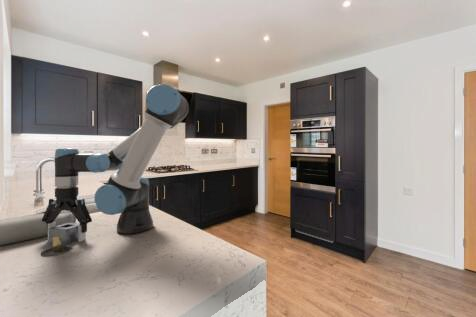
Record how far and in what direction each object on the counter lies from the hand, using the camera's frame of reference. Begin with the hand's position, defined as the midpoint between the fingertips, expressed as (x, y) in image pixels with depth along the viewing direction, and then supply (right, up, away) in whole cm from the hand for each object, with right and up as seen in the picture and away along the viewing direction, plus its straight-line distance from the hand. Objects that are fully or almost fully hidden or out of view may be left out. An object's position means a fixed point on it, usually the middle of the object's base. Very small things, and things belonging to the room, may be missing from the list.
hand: (66, 239), depth 89 cm
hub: (+4, -1, -10) cm, 10 cm away
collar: (0, 0, 0) cm, 1 cm away
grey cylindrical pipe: (-26, +4, -6) cm, 27 cm away
